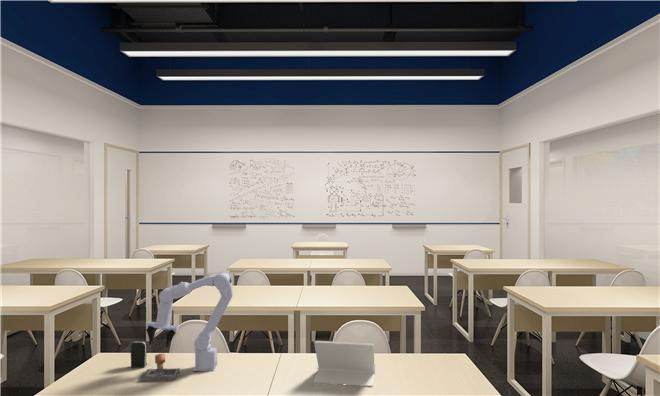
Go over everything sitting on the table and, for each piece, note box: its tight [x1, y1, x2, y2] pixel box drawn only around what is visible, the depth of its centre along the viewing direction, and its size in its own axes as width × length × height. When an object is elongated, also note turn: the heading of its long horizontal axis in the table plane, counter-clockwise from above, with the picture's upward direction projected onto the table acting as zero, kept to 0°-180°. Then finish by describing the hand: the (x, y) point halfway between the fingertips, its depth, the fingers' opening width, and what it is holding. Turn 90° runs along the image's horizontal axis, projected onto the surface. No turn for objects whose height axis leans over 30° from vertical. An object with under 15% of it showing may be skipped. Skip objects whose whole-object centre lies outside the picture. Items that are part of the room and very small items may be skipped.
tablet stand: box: [313, 340, 376, 387], centre depth 180 cm, size 18×25×17 cm
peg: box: [154, 353, 166, 369], centre depth 187 cm, size 4×4×6 cm
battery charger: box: [130, 340, 149, 368], centre depth 192 cm, size 7×4×11 cm, turn 85°
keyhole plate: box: [139, 367, 181, 383], centre depth 179 cm, size 14×8×2 cm, turn 93°
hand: (159, 345), depth 187 cm, fingers open, 7 cm apart
